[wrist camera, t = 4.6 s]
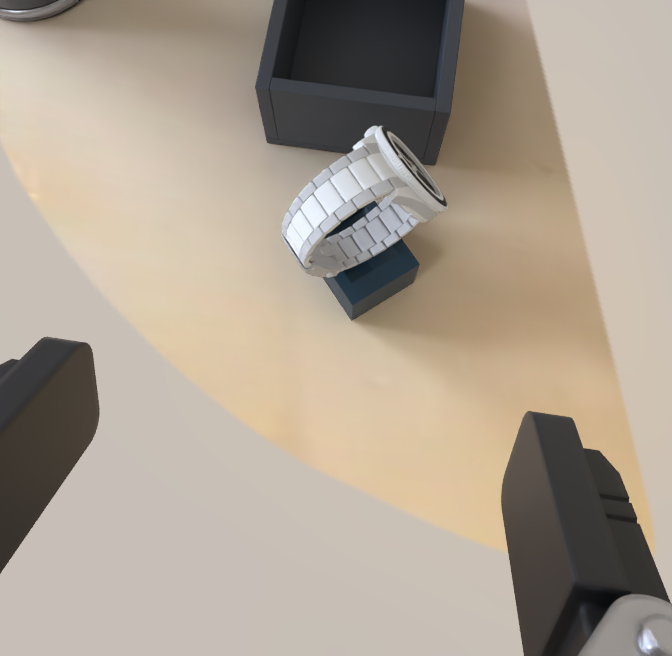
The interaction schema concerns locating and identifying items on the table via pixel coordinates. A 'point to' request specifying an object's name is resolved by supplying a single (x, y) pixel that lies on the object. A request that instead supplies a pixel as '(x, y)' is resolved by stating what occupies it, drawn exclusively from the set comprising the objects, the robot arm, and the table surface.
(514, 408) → the table surface
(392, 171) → the watch
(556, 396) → the table surface
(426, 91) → the box
